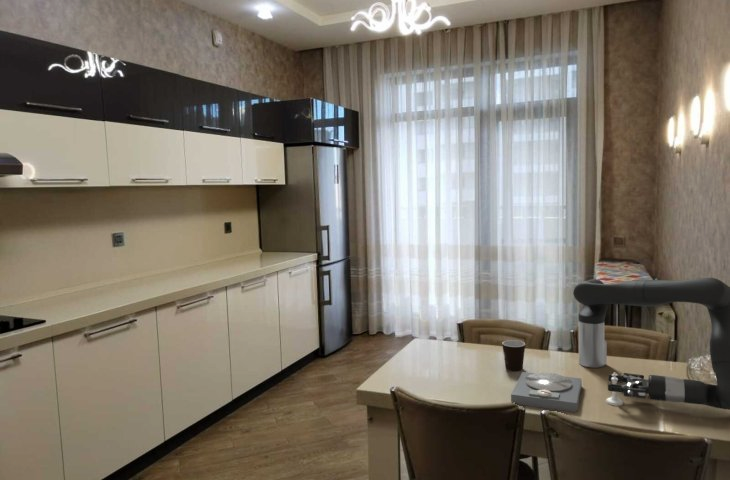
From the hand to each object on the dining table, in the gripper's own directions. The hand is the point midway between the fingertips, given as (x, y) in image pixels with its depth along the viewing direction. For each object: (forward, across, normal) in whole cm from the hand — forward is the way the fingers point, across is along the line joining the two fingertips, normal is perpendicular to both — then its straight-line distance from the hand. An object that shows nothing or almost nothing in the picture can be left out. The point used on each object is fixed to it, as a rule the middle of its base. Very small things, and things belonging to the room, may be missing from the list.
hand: (608, 382), depth 166 cm
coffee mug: (+34, -23, +7) cm, 41 cm away
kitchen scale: (+19, +1, +6) cm, 20 cm away
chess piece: (-2, 0, +7) cm, 7 cm away
